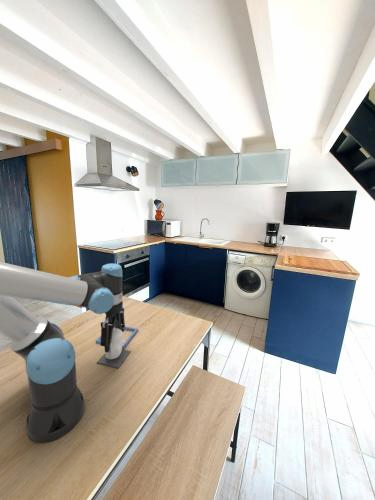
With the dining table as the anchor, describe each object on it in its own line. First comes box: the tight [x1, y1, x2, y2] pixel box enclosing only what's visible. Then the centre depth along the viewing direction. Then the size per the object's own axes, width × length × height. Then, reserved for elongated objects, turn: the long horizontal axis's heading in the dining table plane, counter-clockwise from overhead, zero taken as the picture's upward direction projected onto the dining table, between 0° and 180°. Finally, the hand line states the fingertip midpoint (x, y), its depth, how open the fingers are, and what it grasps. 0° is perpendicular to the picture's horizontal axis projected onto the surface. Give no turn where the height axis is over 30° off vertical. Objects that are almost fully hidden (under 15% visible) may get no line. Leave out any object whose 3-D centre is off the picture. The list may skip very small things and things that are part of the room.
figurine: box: [104, 328, 125, 359], centre depth 88 cm, size 7×8×12 cm
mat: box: [96, 349, 131, 369], centre depth 90 cm, size 10×10×1 cm
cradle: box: [95, 325, 139, 350], centre depth 103 cm, size 14×14×2 cm
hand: (114, 350), depth 89 cm, fingers closed on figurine, 7 cm apart
